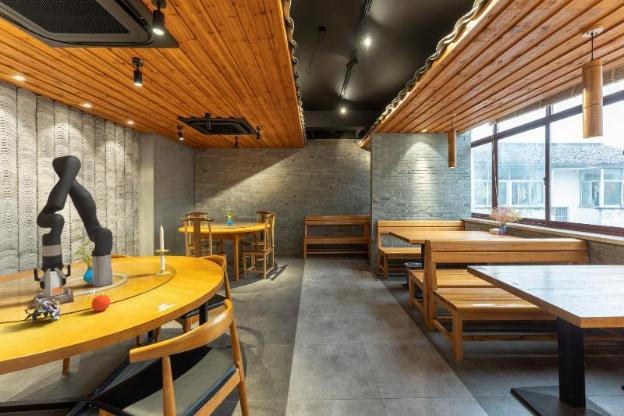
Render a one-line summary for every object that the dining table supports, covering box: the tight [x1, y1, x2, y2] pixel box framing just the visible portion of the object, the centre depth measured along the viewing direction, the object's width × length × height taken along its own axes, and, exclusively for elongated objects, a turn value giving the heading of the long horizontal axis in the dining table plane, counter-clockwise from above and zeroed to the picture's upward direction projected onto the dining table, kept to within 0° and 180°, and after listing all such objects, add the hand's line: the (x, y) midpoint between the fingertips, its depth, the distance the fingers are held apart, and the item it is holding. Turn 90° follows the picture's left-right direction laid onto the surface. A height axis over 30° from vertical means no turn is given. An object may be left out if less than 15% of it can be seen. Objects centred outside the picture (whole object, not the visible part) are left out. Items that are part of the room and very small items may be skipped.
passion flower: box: [23, 299, 62, 326], centre depth 118 cm, size 11×11×12 cm
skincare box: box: [43, 269, 64, 297], centre depth 146 cm, size 6×4×12 cm
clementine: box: [91, 294, 113, 312], centre depth 131 cm, size 8×7×7 cm
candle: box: [153, 225, 172, 276], centre depth 195 cm, size 10×10×32 cm
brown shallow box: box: [30, 288, 75, 310], centre depth 144 cm, size 15×18×3 cm
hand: (53, 287), depth 146 cm, fingers closed on skincare box, 7 cm apart
